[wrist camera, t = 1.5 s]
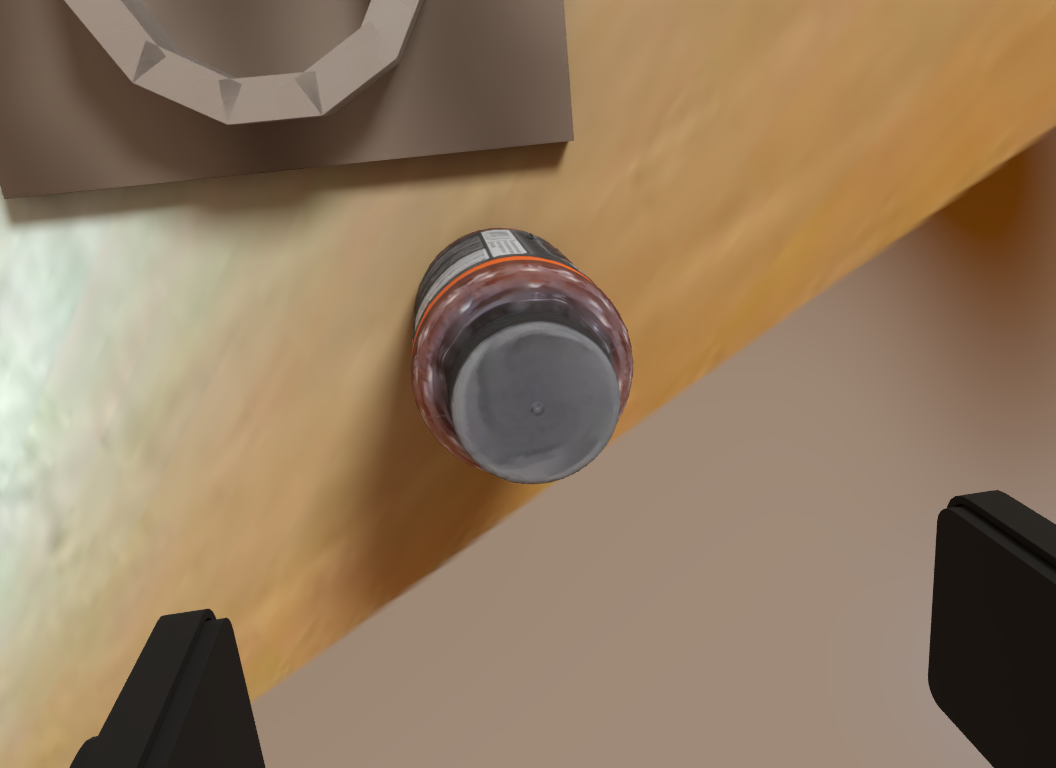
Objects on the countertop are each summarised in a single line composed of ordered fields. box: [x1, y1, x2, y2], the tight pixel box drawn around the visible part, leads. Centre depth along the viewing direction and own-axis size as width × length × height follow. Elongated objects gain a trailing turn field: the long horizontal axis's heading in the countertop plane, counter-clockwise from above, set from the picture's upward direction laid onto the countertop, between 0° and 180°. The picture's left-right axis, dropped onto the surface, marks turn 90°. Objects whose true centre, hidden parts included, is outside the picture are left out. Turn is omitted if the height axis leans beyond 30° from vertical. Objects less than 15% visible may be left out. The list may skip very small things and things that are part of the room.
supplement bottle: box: [411, 228, 633, 484], centre depth 25 cm, size 6×6×11 cm
